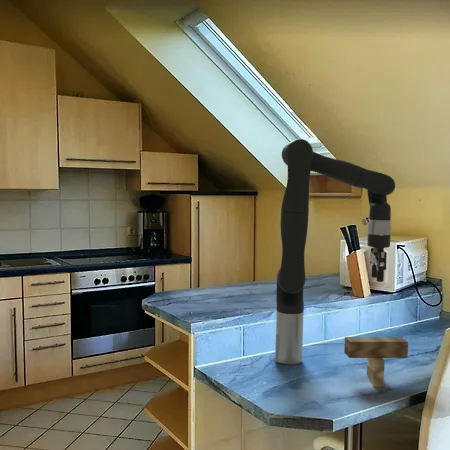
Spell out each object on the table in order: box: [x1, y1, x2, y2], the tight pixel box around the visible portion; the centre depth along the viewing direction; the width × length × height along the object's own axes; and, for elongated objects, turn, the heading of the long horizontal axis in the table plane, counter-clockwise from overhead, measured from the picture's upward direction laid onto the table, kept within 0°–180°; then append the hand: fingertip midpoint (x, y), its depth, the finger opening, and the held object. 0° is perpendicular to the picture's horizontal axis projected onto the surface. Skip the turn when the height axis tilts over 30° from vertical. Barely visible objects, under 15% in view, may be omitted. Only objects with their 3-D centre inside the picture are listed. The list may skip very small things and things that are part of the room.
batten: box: [343, 336, 409, 359], centre depth 148 cm, size 18×5×5 cm, turn 94°
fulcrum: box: [366, 358, 385, 388], centre depth 148 cm, size 3×10×8 cm, turn 174°
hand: (377, 279), depth 167 cm, fingers open, 8 cm apart
